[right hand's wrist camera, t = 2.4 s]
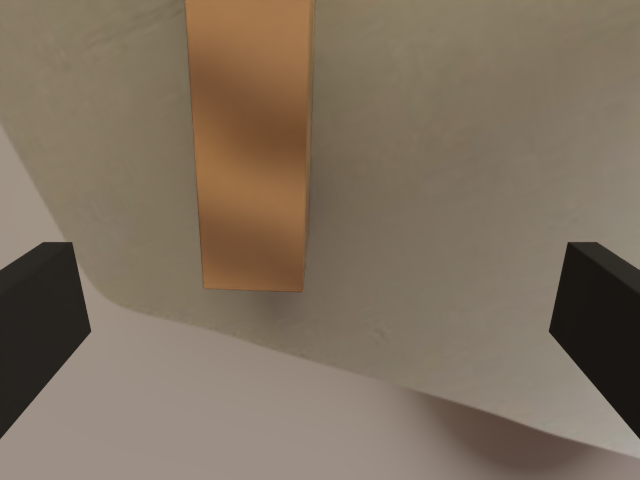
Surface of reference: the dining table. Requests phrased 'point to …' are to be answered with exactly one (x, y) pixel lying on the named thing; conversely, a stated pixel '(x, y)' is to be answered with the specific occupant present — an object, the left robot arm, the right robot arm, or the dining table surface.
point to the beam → (252, 139)
